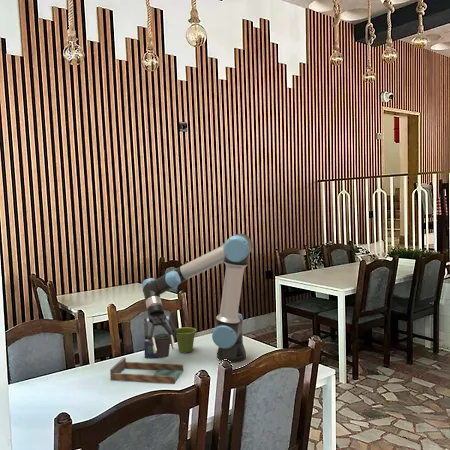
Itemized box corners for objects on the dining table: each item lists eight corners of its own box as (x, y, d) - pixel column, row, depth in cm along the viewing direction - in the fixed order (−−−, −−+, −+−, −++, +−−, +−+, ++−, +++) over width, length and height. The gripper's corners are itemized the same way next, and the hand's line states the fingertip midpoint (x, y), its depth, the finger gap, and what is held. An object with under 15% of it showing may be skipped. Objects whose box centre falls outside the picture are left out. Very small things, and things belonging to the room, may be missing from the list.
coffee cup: (168, 359, 226) (168, 337, 225) (151, 358, 227) (151, 336, 226) (174, 353, 233) (173, 332, 233) (157, 352, 235) (157, 331, 234)
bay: (183, 370, 238) (183, 360, 237) (174, 383, 222) (173, 372, 221) (123, 367, 243) (123, 357, 242) (110, 380, 227) (110, 369, 227)
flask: (162, 356, 258) (162, 336, 257) (161, 358, 255) (161, 338, 254) (145, 356, 258) (144, 336, 257) (144, 358, 255) (143, 338, 255)
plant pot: (172, 348, 270) (172, 328, 269) (193, 346, 273) (193, 326, 273) (177, 355, 259) (176, 334, 258) (199, 353, 262) (198, 332, 261)
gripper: (173, 309, 247) (184, 351, 234) (132, 314, 239) (141, 357, 225) (177, 301, 242) (188, 343, 228) (134, 305, 234) (143, 349, 220)
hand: (164, 350), depth 227 cm, fingers closed on coffee cup, 8 cm apart
